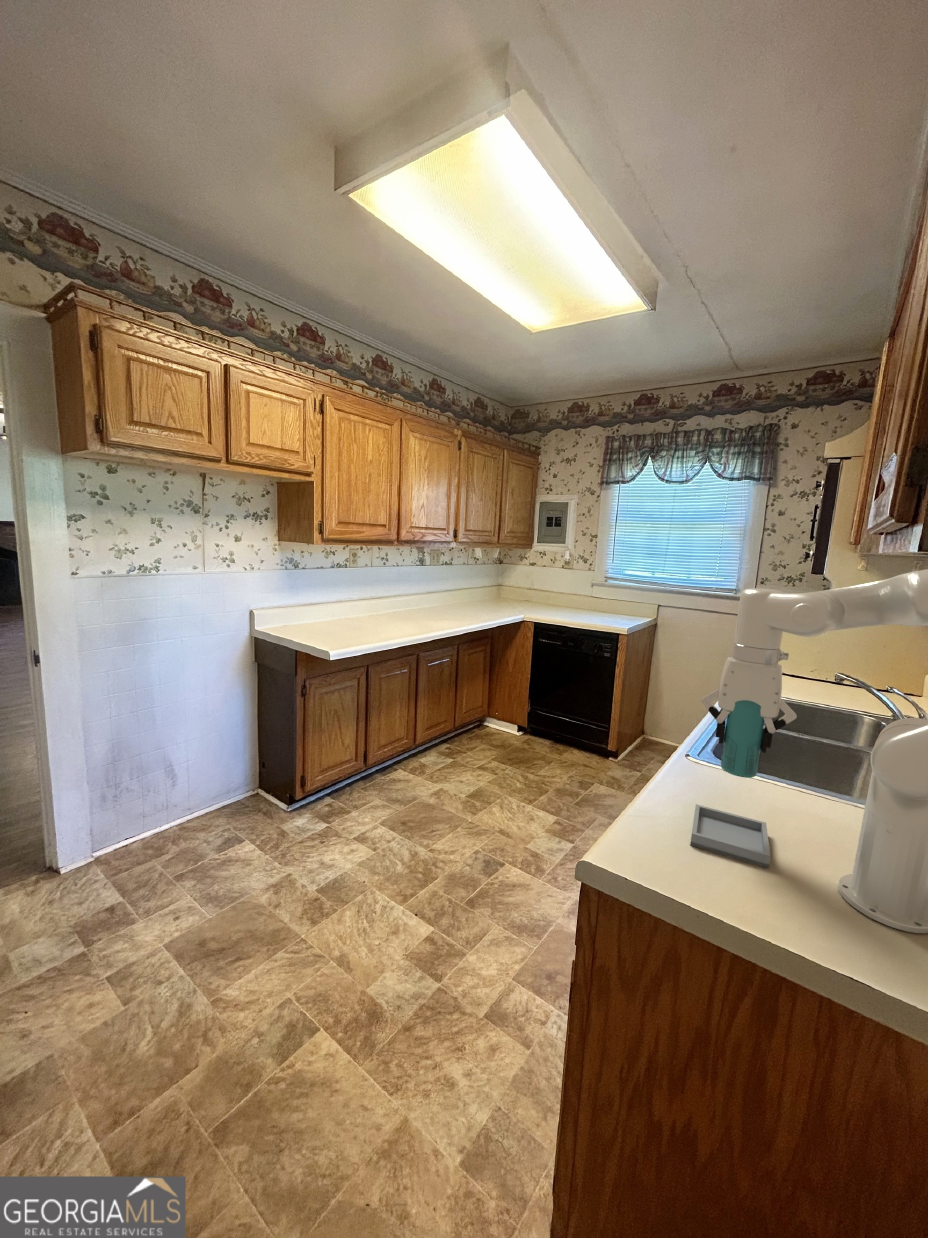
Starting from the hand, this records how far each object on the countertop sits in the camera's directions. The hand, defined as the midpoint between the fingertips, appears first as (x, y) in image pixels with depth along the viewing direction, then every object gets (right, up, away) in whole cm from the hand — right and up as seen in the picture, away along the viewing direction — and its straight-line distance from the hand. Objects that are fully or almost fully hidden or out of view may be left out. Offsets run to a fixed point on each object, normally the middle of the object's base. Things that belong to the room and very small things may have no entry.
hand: (741, 745), depth 96 cm
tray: (-1, -19, +3) cm, 20 cm away
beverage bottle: (0, -7, +1) cm, 7 cm away
